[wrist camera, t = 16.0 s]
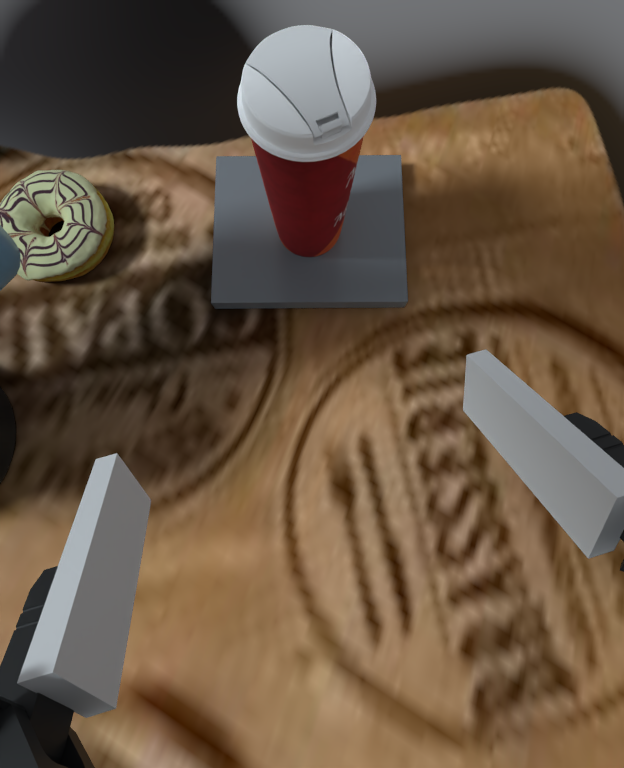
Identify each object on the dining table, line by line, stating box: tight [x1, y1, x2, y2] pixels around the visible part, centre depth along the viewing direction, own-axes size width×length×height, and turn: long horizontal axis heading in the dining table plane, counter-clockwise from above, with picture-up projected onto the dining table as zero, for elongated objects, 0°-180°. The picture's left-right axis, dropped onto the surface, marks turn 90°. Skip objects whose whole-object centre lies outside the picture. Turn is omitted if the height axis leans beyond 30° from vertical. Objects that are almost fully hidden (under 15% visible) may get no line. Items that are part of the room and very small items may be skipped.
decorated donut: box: [0, 170, 114, 282], centre depth 36 cm, size 10×11×4 cm
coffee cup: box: [237, 25, 376, 257], centre depth 29 cm, size 8×8×15 cm
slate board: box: [211, 155, 408, 309], centre depth 37 cm, size 18×15×2 cm
